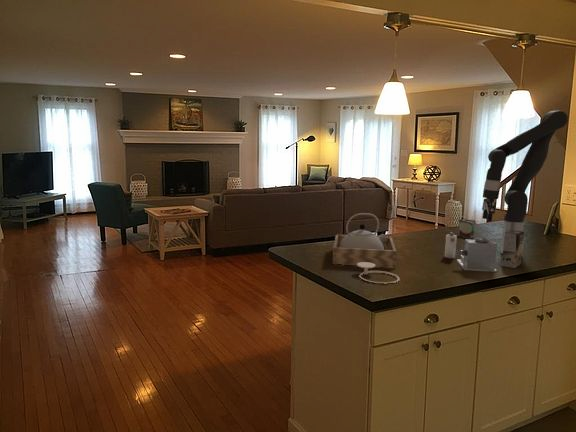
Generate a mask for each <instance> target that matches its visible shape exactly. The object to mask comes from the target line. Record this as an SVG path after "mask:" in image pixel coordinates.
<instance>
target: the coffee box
mask: <svg viewBox="0 0 576 432" xmlns="http://www.w3.org/2000/svg"><path fill="white" fill-rule="evenodd" d="M524 234H525V232H524V231H523V232H522V231H513V230H509V231H507V232H505V236H504V246H503V254H502V257H501V267H507V268H512V269H516V268H517V267H519V266H520V265H521V261H522V256H523V248H522V245H523V246H524V239H523V237H524Z"/></svg>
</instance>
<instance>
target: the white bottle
mask: <svg viewBox="0 0 576 432" xmlns="http://www.w3.org/2000/svg"><path fill="white" fill-rule="evenodd" d="M457 236H458V235H455V233H454V232H451V231H449V233H448V234H446V236H445V247H444V258H447V259H456V251H457Z"/></svg>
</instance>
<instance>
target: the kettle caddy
mask: <svg viewBox="0 0 576 432" xmlns="http://www.w3.org/2000/svg"><path fill="white" fill-rule="evenodd" d="M347 235H348V234H335V237H334V243H333V246H332V264H342V265H341V266H344V265H356V266H355V267H359V266H358V265H357V263H359V262H370V263H373V264H375V265H376V266H375V267H374V268H380V267H383V269H396V266H397V265H396V264H397V263H396V262H397V248H396V247H395V246H396V245H395V243H394V239H393V238H392V237H391V236H386V237H385V238H384V239H383V240H382V241H381V242H382V244H383V247H384V250H376V249H356V248H339V245H340V243H341V241H342V240H343V238H344V237H345V236H347Z"/></svg>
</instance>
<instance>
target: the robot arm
mask: <svg viewBox="0 0 576 432" xmlns="http://www.w3.org/2000/svg"><path fill="white" fill-rule="evenodd" d="M568 120H569V117H568V114H567V113H566V112H565V111H563V110H551V111H548V112H546V113H545V114H544V115H543V116H542V119H541V121H540V123H538V124H537V125H535V126H534V127H532V128H530V129H528V130H526V131H523V132H521V133H520V134H518V135H516V136H515V137H513V138H511V139H510V140H508V141H507V142H506V143H504V144H502V145H499V146H497V147H496V148H494V149H493V150H491V151H489V153H488V155H487V158H488V161H489V162H490V164H489V168H488V169H487V172H486V177H485V182H484V185H483V186H484V187H483V191H482V198H483V203H482V206H481V207H482V208H481V210H482V211H483V212H482V220H483V219H484V220H486V222H489V223H491V222H492V220H493V215H494V214H495V212H496V208H497V207H496V205H497V202H496V201H495V200H499V197H500V196H499V195H500V191H501V186H502V185H501V181H502V176H503V171H504V168H505V165H506V161H507V158H508V157H511V156H512V155H516V154H517V153H519V152H520V151H522V150H524V149H525V148H527V147H528V146H529V148H528V151H527V152H526V154H525V156H524V157H523V158H524V159H523V160H522V163H521V164H520V166H519V169H518V172H517V173H516V175H515V178H514V179H513V181H512V183H511V185H510V186H509V188H508V189H507V191H506V192H505V195H504V203H505V204H506V205H507V208H506V209H507V210H506V213H505V214H504V216H503V224H502V225H503V227H502V236H501V246H500V253H501V254H502V255H503V246H504V236H505V232H507V231H509V230H513V231H522V232H524V223H525V218H526V216H527V209H528V195H527V194H526V191H527V188H528V186H529V184H530V183H531V182H532V181H533V180H534V178H535V177H536V176H538V174H539V172H540V171H541V170H542V168H543V166H544V165H545V162H546V160H547V157H548V155H549V153H548V152H549V147H550V142H551V140H552V138H553V136H554V134H555V132H556V131H558V130H559V129H562V128H564V127H565V126H566V125H567V123H568ZM524 239H525V238H524V236H523V240H524ZM523 246H524V244H523V245H522V249H523Z"/></svg>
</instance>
